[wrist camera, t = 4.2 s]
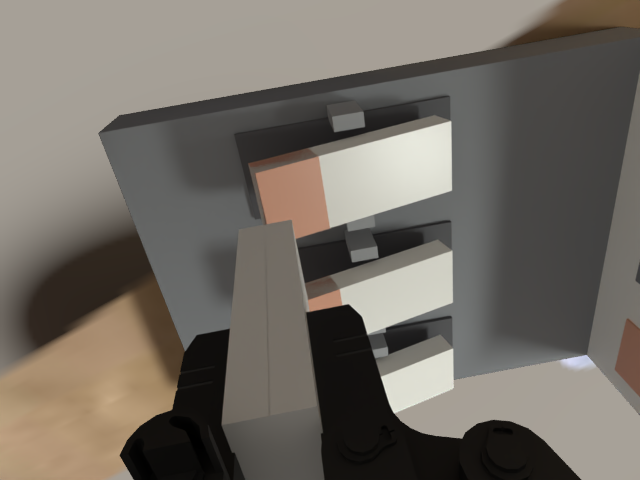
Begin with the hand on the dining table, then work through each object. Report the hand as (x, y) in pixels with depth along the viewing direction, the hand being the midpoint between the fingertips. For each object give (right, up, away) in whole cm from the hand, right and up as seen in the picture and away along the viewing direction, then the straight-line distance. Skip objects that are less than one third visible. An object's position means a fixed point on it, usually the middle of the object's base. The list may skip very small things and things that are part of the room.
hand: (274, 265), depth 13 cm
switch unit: (+5, +1, +13) cm, 14 cm away
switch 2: (+4, -2, +8) cm, 9 cm away
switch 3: (+5, -7, +11) cm, 14 cm away
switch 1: (+3, +3, +5) cm, 7 cm away
